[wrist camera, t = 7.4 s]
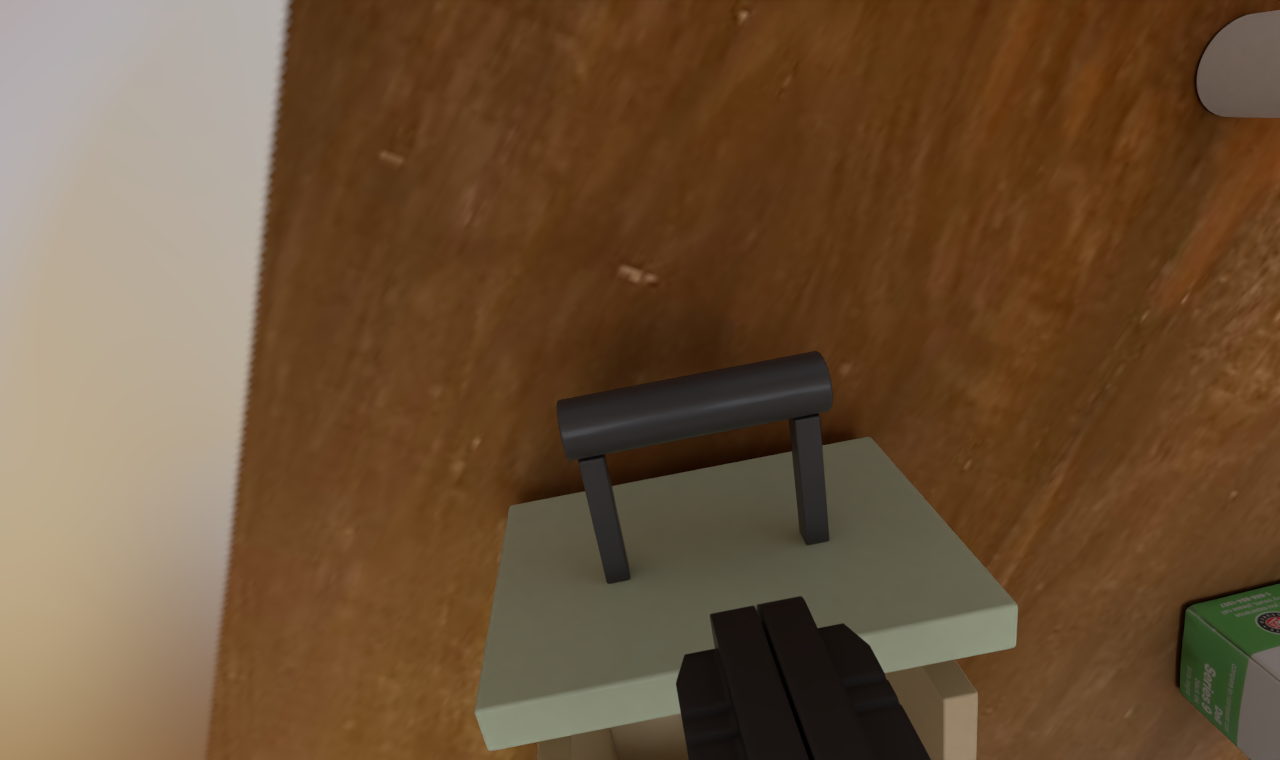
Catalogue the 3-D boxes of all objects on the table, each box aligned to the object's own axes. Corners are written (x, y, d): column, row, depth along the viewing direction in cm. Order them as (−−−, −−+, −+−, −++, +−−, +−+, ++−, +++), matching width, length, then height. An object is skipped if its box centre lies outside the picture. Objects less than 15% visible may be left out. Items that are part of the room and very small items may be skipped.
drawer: (466, 357, 19) (399, 510, 12) (863, 282, 19) (1032, 388, 12) (593, 800, 26) (599, 1063, 19) (884, 742, 26) (999, 982, 19)
